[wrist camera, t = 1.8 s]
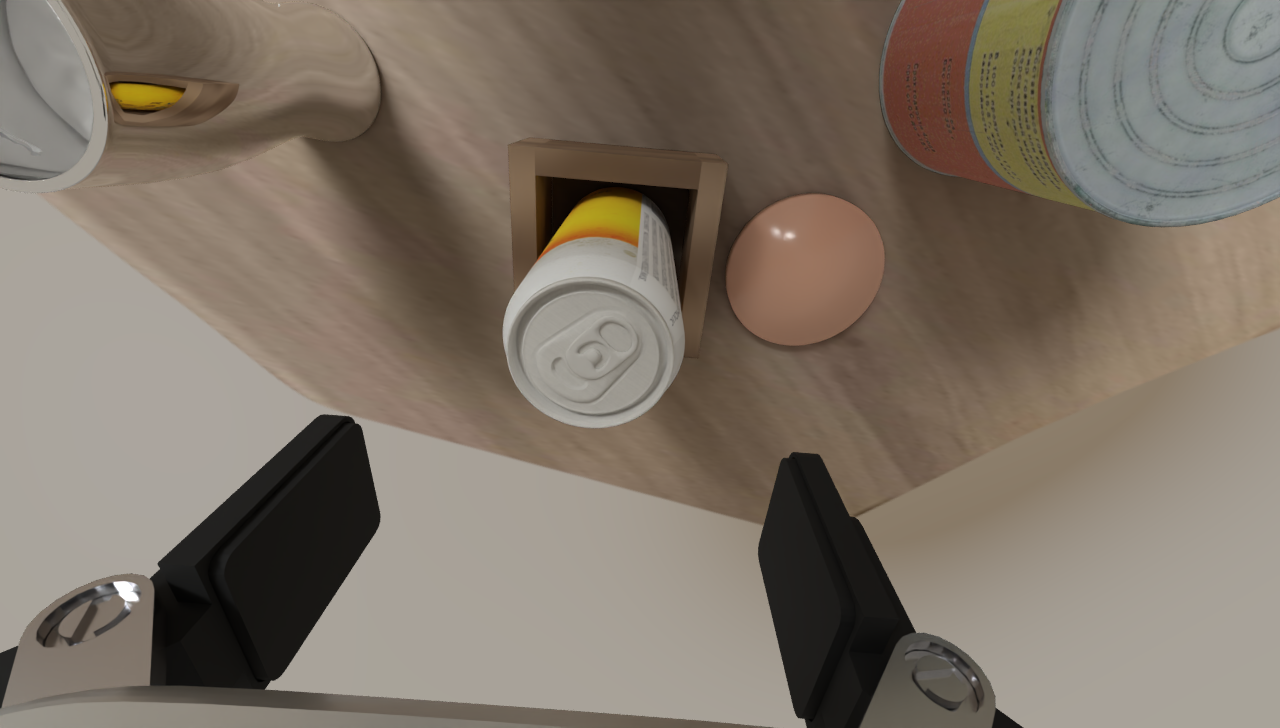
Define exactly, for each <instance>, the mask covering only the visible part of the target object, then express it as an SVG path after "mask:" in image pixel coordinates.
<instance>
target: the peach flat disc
mask: <svg viewBox="0 0 1280 728" xmlns="http://www.w3.org/2000/svg"><path fill="white" fill-rule="evenodd" d="M884 265H885V253H884V247H883V242H882V239H881V236H880V233H879V231H878V230H877V228H876V226H875V224H874V223H873V222H872V220H871V219H870V218H869V217H868V216H867V215H866V214H865V213H864V212H863V211H862V210H861V209H859V208H858V207H856V206H855V205H853V204H851V203H849V202H847V201H845V200H843V199H841V198H839V197H835V196H832V195H828V194H821V193H806V194H798V195H794V196H790V197H787V198H784V199H782V200H779V201H777V202H775V203H773V204H771V205H769V206H767V207H766V208H765V209H763V210H762V211H760V212H759V213H758V214H757V215H755V216H754V217H753V218H752V219H751V220H750V221H749V222H748V223H747V224H746V225H745V227H744V228H743V229H742V230H741V232H740V233H739V235H738V236H737V238H736V240H735V242H734V243H733V245H732V248H731V250H730V253H729V256H728V260H727V264H726V271H725V285H726V290H727V295H728V298H729V301H730V304H731V306H732V308H733V310H734V312H735V314H736V316H737V317H738V319H739V320H740V322H741V323H742V324H743V325H744V326H745V327H746V328H747V329H748V330H750V331H751V332H752V333H753V334H755V335H757V336H758V337H760V338H762V339H764V340H767V341H769V342H772V343H776V344H781V345H791V346H798V345H808V344H812V343H817V342H820V341H823V340H826V339H828V338H830V337H833V336H835V335H837V334H838V333H840V332H842V331H843V330H845V329H846V328H848V327H849V326H850V325H852V324H853V323H854V322H855V321H856V320H857V319H858V318H859V317H860V316H861V315H862V314H863V313H864V312H865V311H866V310H867V308H868V307H869V305H870V304H871V302H872V301H873V299H874V297H875V295H876V294H877V292H878V289H879V287H880V284H881V281H882V277H883V273H884Z"/></svg>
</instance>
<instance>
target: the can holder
mask: <svg viewBox="0 0 1280 728" xmlns="http://www.w3.org/2000/svg"><path fill="white" fill-rule="evenodd" d="M508 157H509V181H510V204H511V227H512V251H513V274H514V293H515V291H516V290H517V288H518V287H519V285H520V284H521V282H522V281H523V280H524V278H525V277H526V275H527V274H528V272H529V271H530V270H531V268H532V267H533V265H534V264H535V262H536V261H537V259H538V258H539V257H540V255H541V254H542V252H543V251H544V249H545V248H546V247H547V245H548V244H549V242H550V241H551V239H552V177H561V178H572V179H583V180H595V181H606V182H617V183H629V184H640V185H652V186H663V187H674V188H686V189H690V191H689V199H688V208H687V216H686V224H685V232H684V240H683V248H682V256H681V265H680V273H679V281H678V291H679V298H680V305H681V312H682V319H683V326H684V332H685V349H684V356H683V357H689V358H698V357H699V350H700V344H701V337H702V331H703V324H704V318H705V311H706V305H707V299H708V292H709V286H710V279H711V273H712V266H713V260H714V253H715V247H716V240H717V234H718V227H719V221H720V215H721V208H722V202H723V195H724V189H725V182H726V176H727V169H728V164H727V163H726V162H725V161H724V160H723V159H721V158H720V157H719V156H718V155H717V154H706V153H695V152H684V151H673V150H662V149H651V148H639V147H628V146H617V145H606V144H595V143H584V142H572V141H561V140H550V139H539V138H527V139H524V140H521V141H518V142H515V143H512V144H509V145H508Z"/></svg>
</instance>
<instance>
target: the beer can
mask: <svg viewBox="0 0 1280 728" xmlns="http://www.w3.org/2000/svg"><path fill="white" fill-rule="evenodd" d="M503 343H504V349H505V353H506V356H507V362H508V366H509V370H510V373H511V375H512V378H513V380H514V382H515V384H516V386H517V387H518V389H519V390H520V392H521V393H522V394H523V395H524V397H525V398H526V399H527V400H528V401H529V402H530V403H531V404H532V405H533V406H534V407H536V408H537V409H538V410H539V411H541V412H542V413H544V414H546V415H547V416H549V417H551V418H553V419H555V420H557V421H560V422H562V423H565V424H568V425H572V426H576V427H582V428H607V427H613V426H618V425H621V424H624V423H627V422H630V421H632V420H634V419H636V418H638V417H640V416H641V415H643V414H644V413H646V412H647V411H648V410H650V409H651V408H652V407H653V406H654V405H655V404H656V403H657V402H658V400H659V399H660V398H661V397H662V395H663V394H664V392H665V391H666V390H667V389H668V388H669V386H670V385H671V384H672V382H673V381H674V379H675V377H676V375H677V373H678V371H679V369H680V366H681V363H682V360H683V356H684V349H685V332H684V326H683V319H682V312H681V305H680V298H679V291H678V284H677V278H676V271H675V264H674V257H673V250H672V243H671V236H670V231H669V227H668V223H667V221H666V219H665V217H664V215H663V213H662V212H661V210H660V209H659V208H658V206H657V205H656V204H655V203H654V202H653V201H652V200H650V199H649V198H648V197H647V196H645V195H643V194H642V193H640V192H638V191H635V190H632V189H629V188H624V187H608V188H603V189H599V190H596V191H594V192H592V193H590V194H588V195H587V196H585V197H584V198H583V199H581V200H580V201H579V202H578V203H577V204H576V205H575V207H574V208H573V209H572V211H571V212H570V214H569V215H568V216H567V218H566V219H565V221H564V222H563V224H562V225H561V226H560V228H559V229H558V231H557V232H556V234H555V235H554V237H553V238H552V239H551V241H550V242H549V244H548V245H547V247H546V248H545V249H544V251H543V252H542V254H541V255H540V257H539V258H538V259H537V261H536V262H535V264H534V265H533V267H532V268H531V270H530V271H529V272H528V274H527V275H526V277H525V278H524V280H523V281H522V282H521V284H520V285H519V287H518V288H517V290H516V291H515V293H514V294H513V296H512V298H511V300H510V302H509V304H508V307H507V309H506V313H505V316H504V322H503Z"/></svg>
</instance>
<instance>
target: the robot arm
mask: <svg viewBox="0 0 1280 728" xmlns="http://www.w3.org/2000/svg"><path fill="white" fill-rule="evenodd" d="M379 523H380V511H379V506H378V501H377V496H376V492H375V487H374V482H373V478H372V473H371V468H370V464H369V459H368V454H367V450H366V445H365V440H364V436H363V431H362V428H361V426H360V425H359V424H355V422H354V420H353V419H352V417H349V416H338V415H320V416H318V417H317V418H316V419H314V420H313V421H312V422H311V423H310V424H309V425H308V426H307V427H306V428H305V429H304V430H302V432H300V433H299V434H298V435H297V436H296V437H295V438H294V439H293V440H292V441H291V442H289V443H288V444H287V445H286V446H285V447H284V448H283V449H282V450H281V451H279V452H278V453H277V454H276V455H275V456H274V457H273V458H272V459H271V460H270V461H269V462H267V463H266V464H265V465H264V466H263V467H262V468H261V469H260V470H259V471H258V472H257V473H256V474H254V475H253V476H252V477H251V478H250V479H249V480H248V481H247V482H246V483H244V485H242V486H241V487H240V488H239V489H238V490H237V491H236V492H235V493H234V494H232V495H231V496H230V497H229V498H228V499H227V500H226V501H225V502H224V503H223V504H222V505H220V506H219V507H218V508H217V509H216V510H215V511H214V512H213V513H212V514H211V515H209V516H208V517H207V518H206V519H205V520H204V521H203V522H202V523H201V524H200V525H199V526H197V527H196V528H195V529H194V530H193V531H192V532H191V533H190V534H189V535H188V536H187V537H185V539H183V540H182V541H181V542H180V543H179V544H178V545H177V546H176V547H175V548H173V549H172V550H171V551H170V552H169V553H168V554H167V555H166V556H165V557H164V558H163V559H162V560H161V561H159V562H158V566H159V567H160V570H159V571H158V572H156V573H155V574H154V575H153V576H152V577H151V578H150V579H148V578H147V577H145V576H144V575H138V574H121V575H114V576H110V577H106V578H103V579H99V580H96V581H93V582H91V583H88V584H86V585H84V586H81V587H79V588H76V589H75V590H73V591H71V592H69V593H68V594H66V595H64V596H62V597H61V598H59V599H57V600H56V601H54V602H53V603H52V604H50V605H49V606H48V607H46V608H45V609H44V610H42V611H41V612H40V613H39V614H38V615H37V616H36V617H35V618H34V619H33V620H32V621H31V623H30V624H29V625H28V626H27V627H26V629H25V631H24V633H23V635H22V637H21V639H20V643H19V646H16V647H14V648H11V649H9V650H7V651H4V652H2V653H0V728H772V727H762V726H751V725H741V724H731V723H720V722H709V721H698V720H685V719H672V718H659V717H645V716H633V715H620V714H607V713H594V712H581V711H568V710H554V709H540V708H525V707H513V706H498V705H485V704H471V703H457V702H443V701H428V700H414V699H400V698H384V697H369V696H353V695H338V694H324V693H307V692H292V691H278V690H265V688H266V687H267V686H268V684H269V683H270V681H271V680H272V681H274V680H276V679H278V678H279V677H280V676H281V675H282V674H283V672H284V671H285V670H286V668H287V667H288V665H289V664H290V662H291V661H292V659H293V658H294V656H295V655H296V653H297V652H298V650H299V649H300V647H301V645H302V644H303V642H304V641H305V639H306V638H307V636H308V635H309V633H310V632H311V630H312V629H313V627H314V626H315V624H316V622H317V621H318V619H319V618H320V616H321V615H322V613H323V612H324V610H325V609H326V607H327V606H328V604H329V603H330V601H331V600H332V598H333V597H334V595H335V594H336V592H337V590H338V589H339V587H340V586H341V585H342V583H343V581H344V580H345V578H346V577H347V575H348V574H349V572H350V571H351V569H352V568H353V566H354V565H355V563H356V562H357V560H358V559H359V557H360V556H361V554H362V552H363V551H364V549H365V548H366V546H367V545H368V543H369V542H370V540H371V539H372V537H373V536H374V534H375V533H376V530H377V529H378V527H379ZM758 557H759V563H760V567H761V571H762V575H763V580H764V584H765V588H766V593H767V597H768V601H769V605H770V610H771V614H772V618H773V622H774V627H775V631H776V635H777V639H778V644H779V648H780V652H781V656H782V661H783V665H784V669H785V673H786V678H787V682H788V686H789V690H790V695H791V699H792V703H793V708H794V711H795V714H796V716H797V717H798V718H802V719H805V722H806V726H807V728H1023V727H1022V726H1020V725H1019V724H1017V723H1016V722H1015V721H1013V720H1012V719H1010V718H1009V717H1008V716H1006V715H1005V714H1004V713H1002V712H1000V711H999V710H998V709H997V708H996V707H995V706H996V705H995V704H996V703H995V694H994V691H993V689H992V686H991V683H990V681H989V680H988V679H987V677H986V676H985V674H984V672H983V671H982V669H981V668H980V667H979V666H978V665H977V664H976V663H975V661H974V660H973V659H972V658H971V657H970V656H969V655H968V654H966V653H965V652H963V651H962V650H961V649H959V648H958V647H957V646H955V645H954V644H952V643H950V642H948V641H946V640H944V639H942V638H940V637H938V636H934V635H931V634H927V633H916V631H915V629H914V628H913V625H912V624H911V622H910V620H909V618H908V616H907V614H906V612H905V610H904V608H903V606H902V604H901V602H900V600H899V598H898V596H897V594H896V592H895V590H894V588H893V586H892V584H891V582H890V580H889V578H888V576H887V574H886V572H885V570H884V568H883V566H882V564H881V562H880V560H879V558H878V556H877V554H876V552H875V550H874V548H873V546H872V544H871V542H870V540H869V538H868V536H867V534H866V532H865V530H864V528H863V526H862V525H861V523H860V522H859V520H858V519H856V518H855V517H850V516H849V514H848V512H847V510H846V508H845V506H844V504H843V502H842V499H841V497H840V495H839V493H838V491H837V489H836V487H835V485H834V483H833V481H832V479H831V477H830V475H829V473H828V471H827V468H826V466H825V464H824V462H823V460H822V458H821V457H820V455H818V454H810V453H798V452H793V453H791V455H790V456H789V458H783V459H782V460H781V463H780V466H779V470H778V474H777V478H776V481H775V485H774V489H773V493H772V496H771V500H770V504H769V508H768V511H767V515H766V519H765V523H764V526H763V530H762V534H761V538H760V542H759V547H758Z"/></svg>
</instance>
